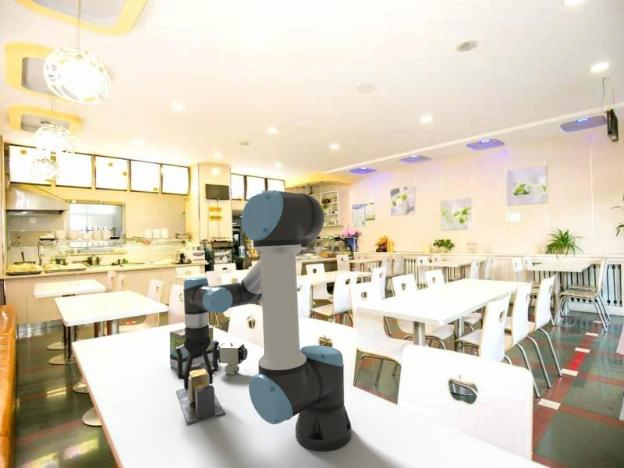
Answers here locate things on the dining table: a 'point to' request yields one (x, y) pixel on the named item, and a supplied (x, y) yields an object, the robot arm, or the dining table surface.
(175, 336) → the tea box
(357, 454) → the dining table surface
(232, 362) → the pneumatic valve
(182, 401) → the base
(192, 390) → the gold metallic block
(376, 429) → the dining table surface
